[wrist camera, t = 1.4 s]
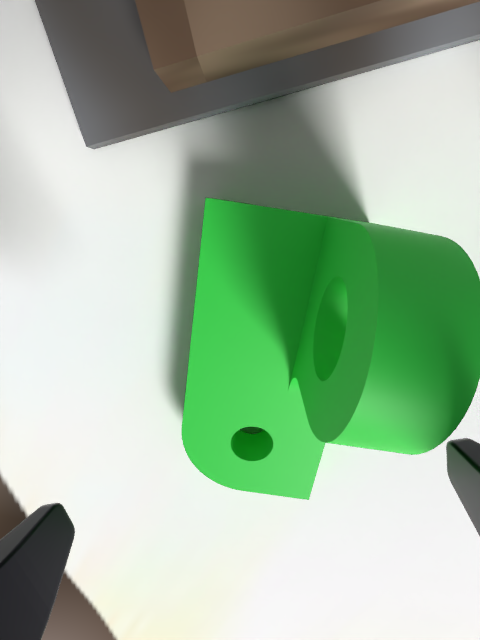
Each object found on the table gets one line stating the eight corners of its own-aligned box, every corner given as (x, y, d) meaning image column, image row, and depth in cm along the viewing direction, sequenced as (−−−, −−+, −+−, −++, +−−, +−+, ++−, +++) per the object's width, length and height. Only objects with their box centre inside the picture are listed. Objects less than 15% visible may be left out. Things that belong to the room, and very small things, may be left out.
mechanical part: (212, 198, 13) (154, 194, 5) (367, 222, 13) (538, 255, 5) (184, 449, 17) (129, 655, 9) (302, 466, 17) (343, 682, 9)
